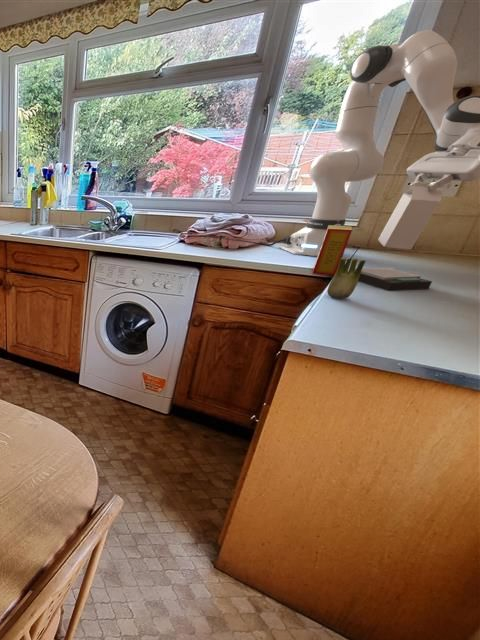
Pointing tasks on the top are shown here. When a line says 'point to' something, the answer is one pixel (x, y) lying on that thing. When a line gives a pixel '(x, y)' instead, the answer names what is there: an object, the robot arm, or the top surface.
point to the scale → (392, 279)
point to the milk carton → (410, 216)
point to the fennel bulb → (345, 278)
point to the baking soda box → (332, 249)
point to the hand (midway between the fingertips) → (420, 188)
